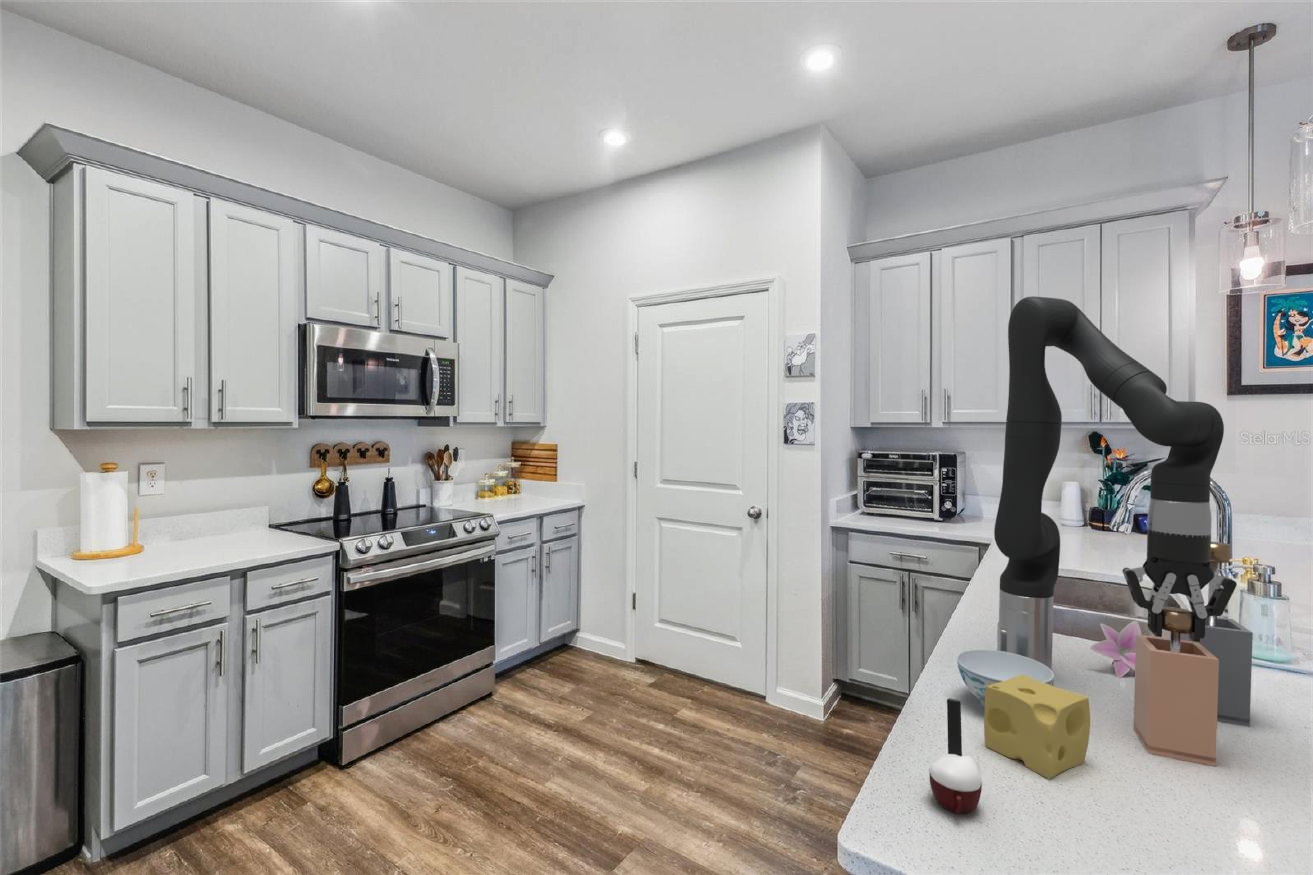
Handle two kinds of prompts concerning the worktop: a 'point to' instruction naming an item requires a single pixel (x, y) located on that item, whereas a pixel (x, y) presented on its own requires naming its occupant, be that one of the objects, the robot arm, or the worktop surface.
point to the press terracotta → (1176, 699)
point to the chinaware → (997, 669)
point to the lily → (1119, 647)
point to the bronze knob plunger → (1176, 624)
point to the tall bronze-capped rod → (1218, 555)
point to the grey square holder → (1230, 668)
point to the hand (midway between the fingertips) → (1175, 637)
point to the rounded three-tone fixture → (956, 769)
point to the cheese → (1037, 724)
